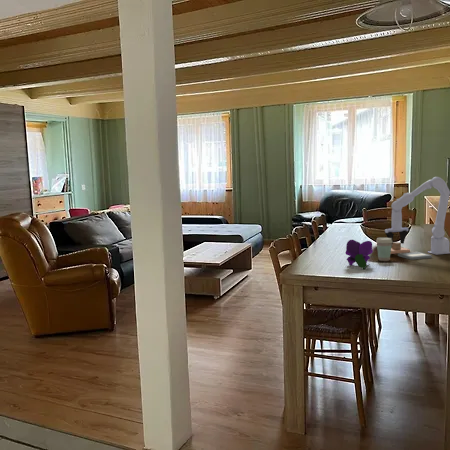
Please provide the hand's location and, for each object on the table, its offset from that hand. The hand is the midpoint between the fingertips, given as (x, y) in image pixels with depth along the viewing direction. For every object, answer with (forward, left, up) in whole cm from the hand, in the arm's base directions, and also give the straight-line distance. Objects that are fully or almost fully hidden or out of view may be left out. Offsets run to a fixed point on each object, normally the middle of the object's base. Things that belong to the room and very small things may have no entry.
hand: (396, 243), depth 276 cm
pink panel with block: (0, 0, -5) cm, 5 cm away
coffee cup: (+20, +17, -5) cm, 26 cm away
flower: (+40, +27, -5) cm, 49 cm away
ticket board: (0, +17, -5) cm, 17 cm away
